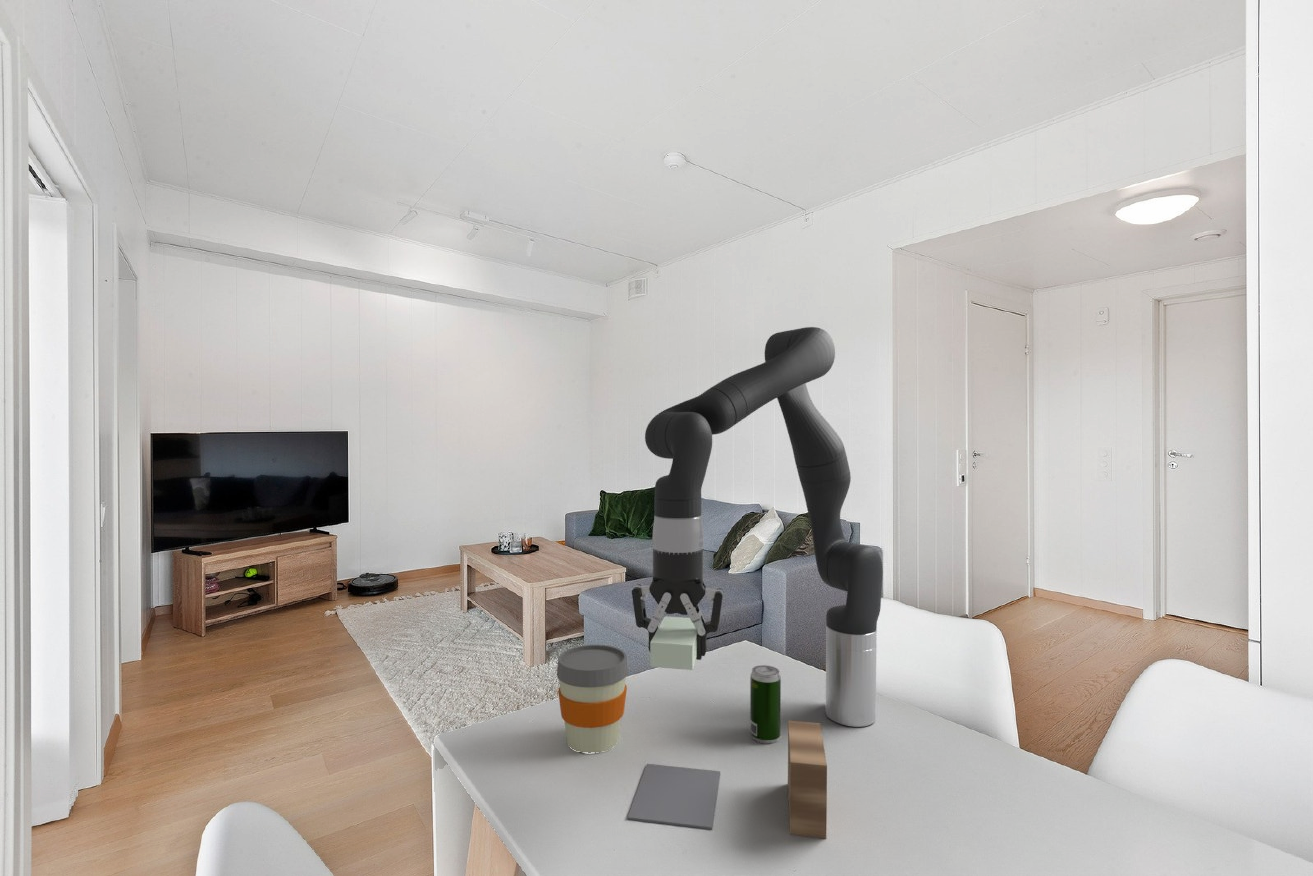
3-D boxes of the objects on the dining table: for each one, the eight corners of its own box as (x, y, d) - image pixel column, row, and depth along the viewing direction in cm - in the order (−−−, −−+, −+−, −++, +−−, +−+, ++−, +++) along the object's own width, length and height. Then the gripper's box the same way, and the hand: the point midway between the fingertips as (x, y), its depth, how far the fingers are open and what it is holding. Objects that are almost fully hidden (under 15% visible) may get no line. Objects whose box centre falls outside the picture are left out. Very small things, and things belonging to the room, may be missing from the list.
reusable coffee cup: (543, 751, 106) (542, 664, 106) (579, 718, 118) (578, 640, 117) (608, 766, 101) (608, 676, 101) (639, 731, 113) (639, 649, 113)
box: (787, 783, 97) (788, 720, 96) (819, 787, 96) (820, 723, 95) (790, 834, 85) (790, 762, 84) (826, 838, 84) (827, 765, 84)
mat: (647, 765, 102) (647, 763, 102) (720, 773, 99) (720, 771, 99) (627, 819, 88) (627, 817, 88) (712, 829, 86) (712, 827, 86)
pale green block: (664, 637, 99) (664, 616, 99) (701, 640, 98) (701, 618, 98) (650, 667, 88) (650, 642, 88) (692, 670, 87) (692, 645, 86)
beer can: (764, 747, 107) (764, 679, 107) (743, 734, 112) (744, 668, 111) (786, 739, 110) (787, 672, 110) (765, 726, 115) (766, 662, 114)
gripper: (727, 542, 95) (727, 650, 96) (636, 539, 98) (636, 644, 98) (724, 552, 88) (723, 670, 88) (625, 548, 90) (625, 662, 91)
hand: (677, 656), depth 93 cm, fingers closed on pale green block, 6 cm apart
